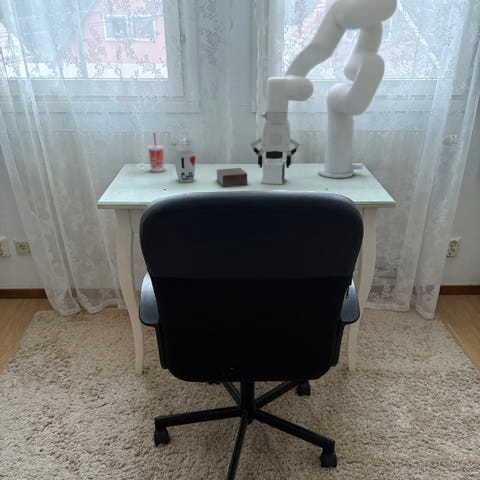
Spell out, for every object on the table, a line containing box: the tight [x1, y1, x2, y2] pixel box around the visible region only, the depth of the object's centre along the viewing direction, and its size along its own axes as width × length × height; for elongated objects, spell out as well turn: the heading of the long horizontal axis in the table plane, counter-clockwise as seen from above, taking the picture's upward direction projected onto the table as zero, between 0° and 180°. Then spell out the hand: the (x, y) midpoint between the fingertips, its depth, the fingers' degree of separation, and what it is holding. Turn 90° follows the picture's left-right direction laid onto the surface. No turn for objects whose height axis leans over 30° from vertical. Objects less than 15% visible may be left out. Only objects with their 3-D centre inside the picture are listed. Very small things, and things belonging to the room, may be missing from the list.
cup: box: [172, 149, 197, 183], centre depth 188 cm, size 8×8×10 cm
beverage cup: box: [147, 132, 164, 173], centre depth 200 cm, size 6×6×14 cm
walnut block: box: [216, 167, 248, 188], centre depth 187 cm, size 9×9×4 cm
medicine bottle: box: [262, 151, 286, 185], centre depth 186 cm, size 7×7×12 cm
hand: (274, 167), depth 186 cm, fingers open, 9 cm apart
